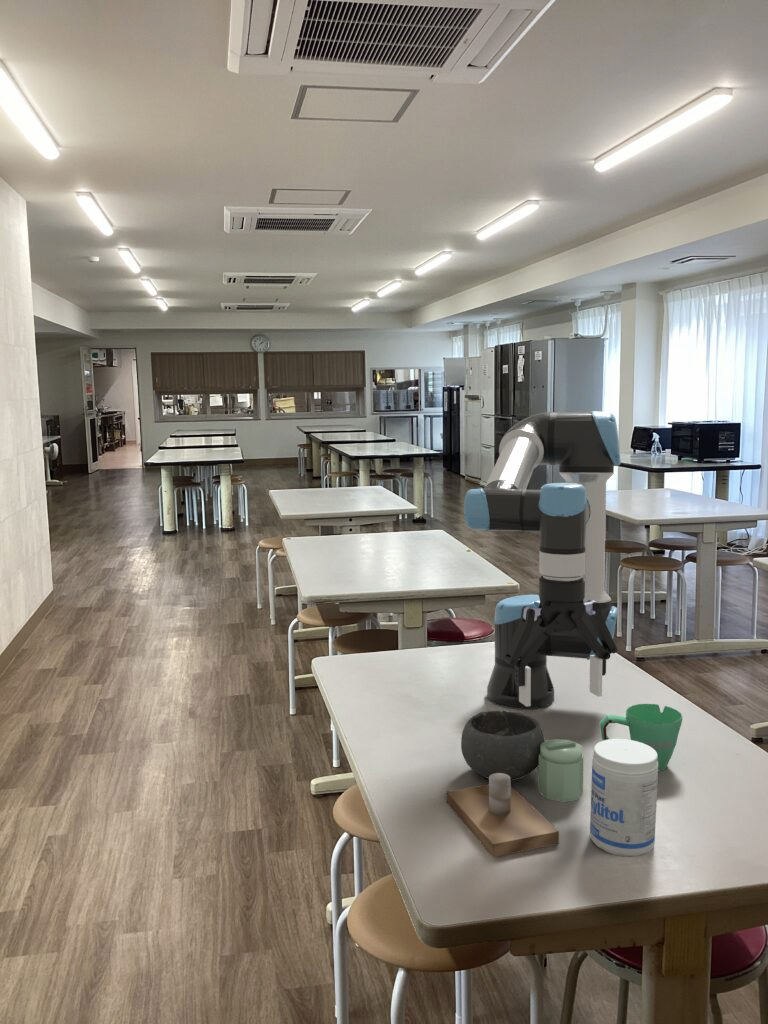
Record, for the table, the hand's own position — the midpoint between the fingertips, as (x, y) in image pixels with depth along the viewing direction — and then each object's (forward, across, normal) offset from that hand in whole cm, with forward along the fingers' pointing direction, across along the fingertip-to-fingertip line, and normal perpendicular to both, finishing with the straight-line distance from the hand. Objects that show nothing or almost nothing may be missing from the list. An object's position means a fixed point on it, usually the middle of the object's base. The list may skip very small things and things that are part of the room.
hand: (560, 698), depth 141 cm
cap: (+17, 0, 0) cm, 17 cm away
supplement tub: (+17, -1, +18) cm, 25 cm away
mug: (+17, -19, -4) cm, 26 cm away
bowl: (+17, +6, -9) cm, 20 cm away
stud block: (+17, +14, +6) cm, 23 cm away
